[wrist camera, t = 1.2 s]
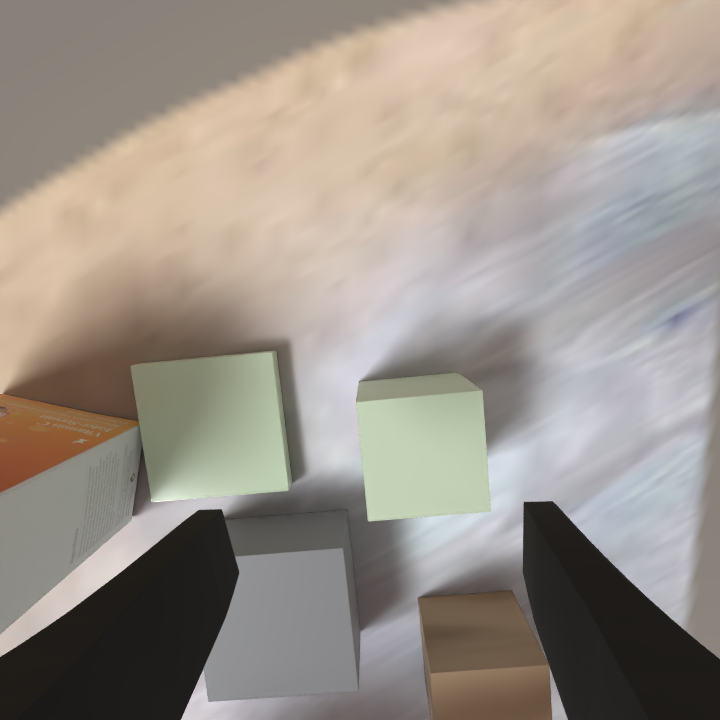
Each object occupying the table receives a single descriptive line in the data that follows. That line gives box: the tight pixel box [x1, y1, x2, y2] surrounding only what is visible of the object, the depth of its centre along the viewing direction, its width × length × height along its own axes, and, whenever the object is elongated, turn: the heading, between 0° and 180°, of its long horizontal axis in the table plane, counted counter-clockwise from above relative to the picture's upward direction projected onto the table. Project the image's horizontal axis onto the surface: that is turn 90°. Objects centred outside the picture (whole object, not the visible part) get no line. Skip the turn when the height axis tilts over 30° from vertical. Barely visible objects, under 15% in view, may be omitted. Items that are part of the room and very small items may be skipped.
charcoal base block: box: [204, 509, 360, 702], centre depth 22 cm, size 7×7×4 cm
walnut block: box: [418, 590, 552, 720], centre depth 21 cm, size 5×5×5 cm
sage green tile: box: [130, 350, 292, 502], centre depth 22 cm, size 7×7×1 cm
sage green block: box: [356, 372, 491, 522], centre depth 20 cm, size 5×5×5 cm
